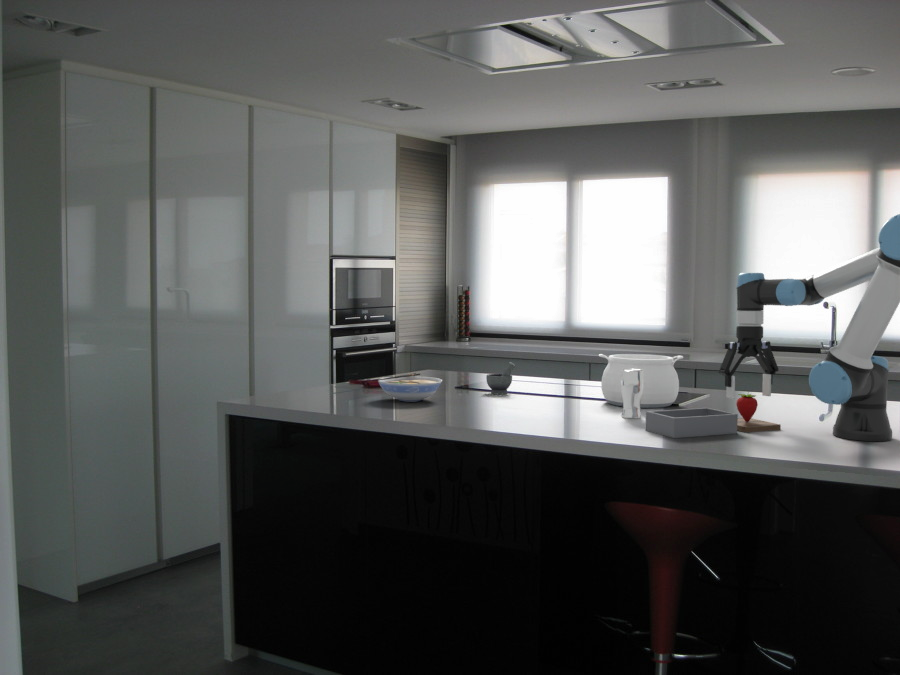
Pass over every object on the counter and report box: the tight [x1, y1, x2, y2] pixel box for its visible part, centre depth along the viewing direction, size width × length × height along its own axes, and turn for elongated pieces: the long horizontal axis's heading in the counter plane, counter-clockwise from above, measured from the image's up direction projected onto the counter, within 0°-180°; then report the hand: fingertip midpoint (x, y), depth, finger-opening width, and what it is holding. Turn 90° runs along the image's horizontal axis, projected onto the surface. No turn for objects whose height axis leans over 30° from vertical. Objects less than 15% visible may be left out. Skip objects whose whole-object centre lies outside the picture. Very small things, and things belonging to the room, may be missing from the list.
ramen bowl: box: [371, 372, 443, 403], centre depth 310 cm, size 25×23×8 cm
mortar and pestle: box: [485, 361, 516, 395], centre depth 332 cm, size 11×9×12 cm
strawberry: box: [736, 391, 759, 422], centre depth 262 cm, size 6×8×10 cm
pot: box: [598, 353, 684, 409], centre depth 308 cm, size 29×26×17 cm
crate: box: [645, 407, 739, 439], centre depth 254 cm, size 13×22×6 cm, turn 113°
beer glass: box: [621, 369, 644, 420], centre depth 279 cm, size 7×7×15 cm
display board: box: [737, 417, 782, 433], centre depth 263 cm, size 14×13×2 cm
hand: (748, 397), depth 262 cm, fingers open, 13 cm apart
